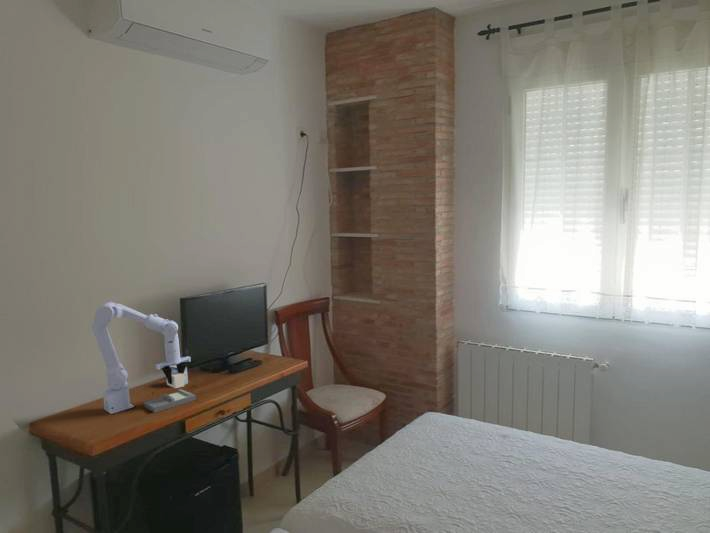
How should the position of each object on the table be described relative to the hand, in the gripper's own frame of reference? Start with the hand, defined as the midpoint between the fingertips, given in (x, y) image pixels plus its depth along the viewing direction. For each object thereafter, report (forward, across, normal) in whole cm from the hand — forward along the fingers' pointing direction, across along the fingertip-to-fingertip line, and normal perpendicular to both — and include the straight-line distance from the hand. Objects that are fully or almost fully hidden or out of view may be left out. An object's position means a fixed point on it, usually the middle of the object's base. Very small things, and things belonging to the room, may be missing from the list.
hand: (175, 381), depth 226 cm
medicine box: (+9, +11, +22) cm, 26 cm away
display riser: (+8, -3, 0) cm, 9 cm away
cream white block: (+2, 0, 0) cm, 2 cm away
